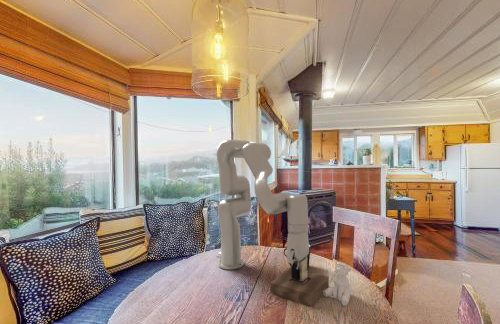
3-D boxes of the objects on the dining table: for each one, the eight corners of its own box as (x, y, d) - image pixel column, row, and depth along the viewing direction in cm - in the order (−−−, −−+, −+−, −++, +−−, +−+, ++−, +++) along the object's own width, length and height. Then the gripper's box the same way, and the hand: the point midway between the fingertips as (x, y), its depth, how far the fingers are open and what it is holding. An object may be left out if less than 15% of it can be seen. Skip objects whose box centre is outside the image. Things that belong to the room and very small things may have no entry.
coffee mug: (313, 265, 114) (313, 244, 114) (307, 272, 107) (306, 249, 107) (290, 261, 120) (289, 240, 121) (283, 267, 113) (282, 245, 113)
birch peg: (292, 291, 92) (290, 260, 92) (297, 286, 96) (295, 256, 96) (303, 294, 89) (301, 262, 90) (308, 289, 93) (306, 258, 93)
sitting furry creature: (321, 295, 88) (320, 262, 88) (335, 287, 93) (334, 256, 94) (345, 307, 81) (344, 270, 81) (359, 298, 86) (358, 263, 86)
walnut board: (270, 293, 91) (270, 282, 91) (291, 276, 104) (290, 267, 104) (311, 307, 81) (311, 294, 81) (328, 287, 94) (328, 276, 94)
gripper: (299, 221, 102) (300, 265, 102) (277, 231, 88) (279, 282, 88) (316, 224, 97) (318, 270, 97) (296, 234, 84) (298, 288, 83)
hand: (299, 275), depth 93 cm, fingers open, 5 cm apart
